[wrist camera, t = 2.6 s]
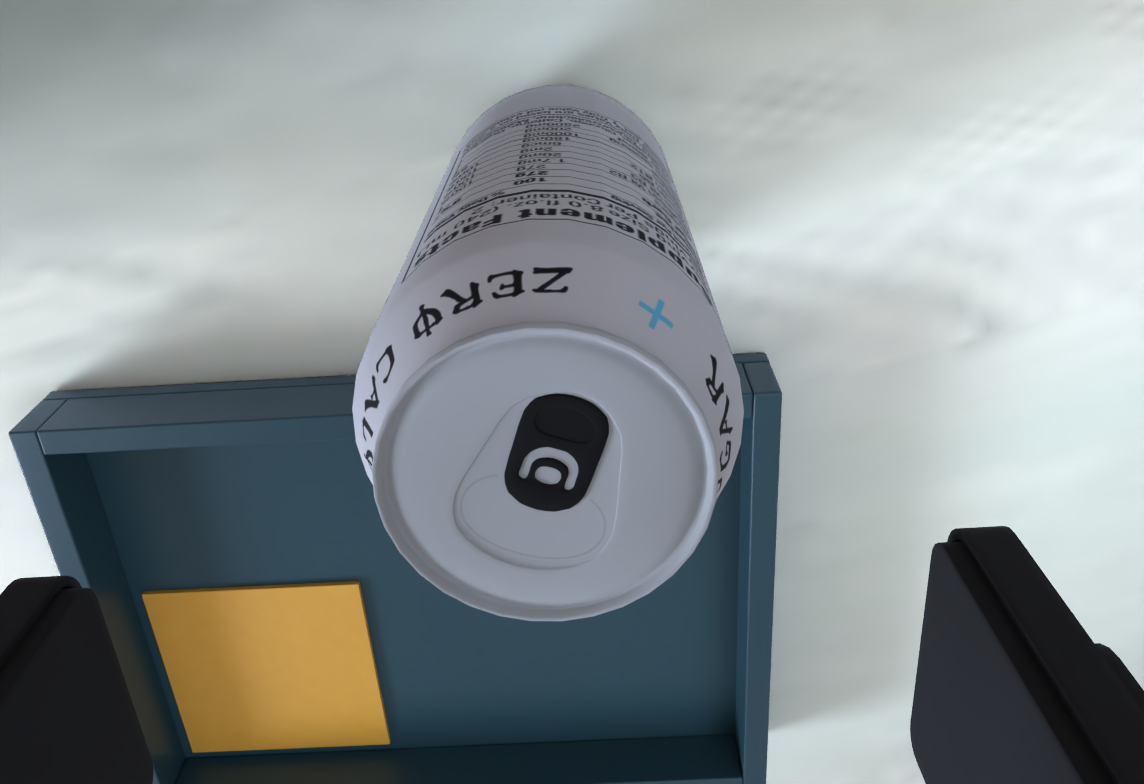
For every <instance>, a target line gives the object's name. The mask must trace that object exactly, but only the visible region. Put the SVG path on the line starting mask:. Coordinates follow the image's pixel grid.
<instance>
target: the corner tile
mask: <svg viewBox="0 0 1144 784" xmlns="http://www.w3.org/2000/svg"><path fill="white" fill-rule="evenodd" d="M142 598H143V601H144V604H145V607H146V610H147V613H148V616H149V619H150V623H151V626H152V629H153V632H154V635H155V638H156V641H157V644H158V647H159V650H160V653H161V656H162V660H163V663H164V666H165V669H166V672H167V675H168V678H169V681H170V684H171V687H172V690H173V693H174V696H175V700H176V703H177V706H178V709H179V712H180V715H181V718H182V721H183V724H184V727H185V730H186V733H187V737H188V740H189V743H190V746H191V749H192V752H193V753H198V752H221V751H245V750H268V749H291V748H314V747H337V746H360V745H384V744H390V742H391V739H390V734H389V729H388V724H387V719H386V713H385V708H384V703H383V698H382V693H381V688H380V683H379V678H378V673H377V668H376V663H375V658H374V653H373V647H372V642H371V637H370V632H369V627H368V622H367V617H366V612H365V607H364V602H363V597H362V592H361V586H360V581H345V582H324V583H303V584H282V585H262V586H241V587H220V588H199V589H178V590H157V591H143V593H142Z"/></svg>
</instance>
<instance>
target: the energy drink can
mask: <svg viewBox="0 0 1144 784" xmlns="http://www.w3.org/2000/svg"><path fill="white" fill-rule="evenodd" d="M352 411H353V420H354V429H355V438H356V444H357V447H358V450H359V453H360V456H361V459H362V461H363V464H364V467H365V470H366V473H367V476H368V477H369V479H370V481H371V483H372V484H373V489H374V498H375V502H376V505H377V508H378V510H379V513H380V516H381V519H382V522H383V525H384V527H385V529H386V531H387V532H388V534H389V536H390V537H391V539H392V541H393V542H394V544H395V546H396V547H397V549H398V551H399V552H400V553H401V554H402V556H403V557H404V558H405V559H406V560H407V561H408V562H409V563H410V564H411V565H412V567H413V568H414V569H415V570H416V571H417V572H418V573H419V574H420V575H421V576H423V577H424V578H425V579H426V580H428V581H429V582H430V583H432V584H433V585H434V586H436V587H437V588H438V589H440V590H441V591H442V592H444V593H446V594H447V595H449V596H451V597H453V598H455V599H457V600H459V601H461V602H463V603H465V604H467V605H469V606H471V607H474V608H477V609H480V610H483V611H486V612H489V613H492V614H495V615H498V616H502V617H508V618H515V619H521V620H527V621H567V620H574V619H580V618H587V617H593V616H596V615H600V614H603V613H606V612H609V611H612V610H615V609H618V608H622V607H624V606H626V605H628V604H630V603H632V602H633V601H635V600H637V599H639V598H641V597H643V596H645V595H647V594H649V593H650V592H652V591H653V590H654V589H656V588H657V587H658V586H660V585H661V584H662V583H664V582H665V581H666V580H667V579H669V578H670V577H671V576H673V575H674V574H675V572H676V571H677V570H678V569H679V568H680V567H681V566H682V565H683V564H684V562H685V561H686V560H687V559H688V558H689V557H690V556H691V555H692V553H693V552H694V550H695V549H696V547H697V545H698V544H699V542H700V540H701V538H702V537H703V535H704V533H705V532H706V530H707V528H708V525H709V522H710V519H711V516H712V513H713V510H714V506H715V503H716V500H717V498H718V496H719V495H720V493H721V491H722V490H723V488H724V486H725V484H726V483H727V481H728V479H729V478H730V476H731V473H732V470H733V467H734V463H735V460H736V457H737V454H738V451H739V448H740V445H741V436H742V426H743V416H744V407H743V399H742V392H741V384H740V377H739V374H738V371H737V368H736V365H735V362H734V359H733V356H732V353H731V350H730V347H729V344H728V341H727V338H726V335H725V332H724V329H723V327H722V324H721V321H720V318H719V315H718V312H717V309H716V306H715V303H714V300H713V297H712V294H711V291H710V288H709V285H708V282H707V279H706V276H705V273H704V271H703V268H702V265H701V262H700V259H699V256H698V253H697V250H696V247H695V244H694V241H693V238H692V235H691V232H690V229H689V226H688V223H687V220H686V218H685V215H684V212H683V209H682V206H681V203H680V200H679V197H678V194H677V191H676V188H675V185H674V182H673V179H672V176H671V173H670V170H669V168H668V165H667V162H666V159H665V157H664V154H663V151H662V149H661V147H660V145H659V144H658V142H657V141H656V139H655V137H654V136H653V134H652V132H651V131H650V129H649V128H648V127H647V126H646V125H645V124H644V123H643V122H642V121H641V120H640V119H639V118H638V117H637V116H636V115H635V113H633V112H632V111H631V110H629V109H628V108H626V107H625V106H623V105H622V104H621V103H619V102H618V101H616V100H615V99H612V98H610V97H608V96H605V95H603V94H601V93H599V92H596V91H594V90H589V89H585V88H580V87H575V86H554V85H547V86H542V87H537V88H532V89H527V90H523V91H521V92H519V93H516V94H514V95H512V96H509V97H507V98H505V99H503V100H501V101H500V102H498V103H497V104H495V105H494V106H493V107H491V108H490V109H488V110H487V111H485V112H484V113H483V114H482V115H481V116H480V117H479V118H478V119H477V120H476V121H475V122H474V124H473V125H472V126H471V127H470V128H469V129H468V130H467V132H466V134H465V135H464V137H463V139H462V140H461V142H460V143H459V145H458V147H457V148H456V151H455V153H454V155H453V157H452V159H451V161H450V164H449V166H448V168H447V170H446V172H445V175H444V177H443V179H442V181H441V183H440V185H439V188H438V190H437V192H436V194H435V196H434V199H433V201H432V203H431V205H430V207H429V210H428V212H427V214H426V216H425V218H424V220H423V223H422V225H421V227H420V229H419V231H418V234H417V236H416V238H415V240H414V242H413V244H412V247H411V249H410V251H409V253H408V255H407V258H406V260H405V262H404V264H403V266H402V268H401V271H400V273H399V275H398V277H397V279H396V282H395V284H394V286H393V288H392V290H391V292H390V295H389V297H388V299H387V301H386V303H385V306H384V308H383V310H382V312H381V314H380V316H379V319H378V321H377V323H376V325H375V327H374V330H373V332H372V334H371V336H370V338H369V341H368V343H367V346H366V349H365V351H364V354H363V357H362V360H361V363H360V365H359V368H358V371H357V374H356V381H355V389H354V398H353V407H352Z"/></svg>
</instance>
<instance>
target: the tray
mask: <svg viewBox="0 0 1144 784" xmlns="http://www.w3.org/2000/svg"><path fill="white" fill-rule="evenodd" d="M732 356H733V359H734V362H735V365H736V368H737V371H738V374H739V377H740V384H741V392H742V399H743V407H744V416H743V426H742V436H741V445H740V448H739V451H738V454H737V457H736V460H735V463H734V467H733V470H732V473H731V476H730V478H729V479H728V481H727V483H726V484H725V486H724V488H723V490H722V491H721V493H720V495H719V496H718V498H717V500H716V503H715V506H714V510H713V513H712V516H711V519H710V522H709V525H708V528H707V530H706V532H705V533H704V535H703V537H702V538H701V540H700V542H699V544H698V545H697V547H696V549H695V550H694V552H693V553H692V555H691V556H690V557H689V558H688V559H687V560H686V561H685V562H684V564H683V565H682V566H681V567H680V568H679V569H678V570H677V571H676V572H675V574H674V575H673V576H671V577H670V578H669V579H667V580H666V581H665V582H664V583H662V584H661V585H660V586H658V587H657V588H656V589H654V590H653V591H652V592H650V593H649V594H647V595H645V596H643V597H641V598H639V599H637V600H635V601H633V602H632V603H630V604H628V605H626V606H624V607H622V608H618V609H615V610H612V611H609V612H606V613H603V614H600V615H596V616H593V617H587V618H580V619H574V620H567V621H527V620H521V619H515V618H508V617H502V616H498V615H495V614H492V613H489V612H486V611H483V610H480V609H477V608H474V607H471V606H469V605H467V604H465V603H463V602H461V601H459V600H457V599H455V598H453V597H451V596H449V595H447V594H446V593H444V592H442V591H441V590H440V589H438V588H437V587H436V586H434V585H433V584H432V583H430V582H429V581H428V580H426V579H425V578H424V577H423V576H421V575H420V574H419V573H418V572H417V571H416V570H415V569H414V568H413V567H412V565H411V564H410V563H409V562H408V561H407V560H406V559H405V558H404V557H403V556H402V554H401V553H400V552H399V551H398V549H397V547H396V546H395V544H394V542H393V541H392V539H391V537H390V536H389V534H388V532H387V531H386V529H385V527H384V525H383V522H382V519H381V516H380V513H379V510H378V508H377V505H376V502H375V498H374V489H373V484H372V483H371V481H370V479H369V477H368V476H367V473H366V470H365V467H364V464H363V461H362V459H361V456H360V453H359V450H358V447H357V444H356V438H355V429H354V420H353V411H352V407H353V398H354V389H355V381H356V375H350V376H332V377H313V378H295V379H276V380H257V381H239V382H220V383H202V384H183V385H165V386H146V387H128V388H109V389H90V390H72V391H53V392H51V393H50V394H49V395H48V396H46V397H45V398H44V399H43V401H41V402H40V403H39V404H38V405H37V406H36V407H35V408H34V409H33V410H32V411H31V412H30V413H29V414H28V415H26V416H25V417H24V418H23V419H22V420H21V421H20V422H19V423H18V424H17V425H16V426H15V427H14V428H13V429H12V430H11V431H10V432H9V437H10V439H11V442H12V445H13V447H14V450H15V453H16V456H17V458H18V461H19V464H20V467H21V469H22V472H23V475H24V477H25V480H26V483H27V486H28V488H29V491H30V494H31V496H32V499H33V502H34V505H35V507H36V510H37V513H38V516H39V518H40V521H41V524H42V526H43V529H44V532H45V535H46V537H47V540H48V543H49V545H50V548H51V551H52V554H53V556H54V559H55V562H56V565H57V567H58V570H59V573H60V575H61V576H71V577H74V578H75V579H76V580H77V581H78V582H79V583H80V585H81V587H82V588H89V589H91V590H92V591H93V592H94V593H95V595H96V597H97V599H98V602H99V605H100V608H101V611H102V614H103V617H104V620H105V623H106V626H107V629H108V631H109V634H110V637H111V640H112V643H113V646H114V649H115V652H116V655H117V658H118V661H119V664H120V667H121V670H122V673H123V676H124V679H125V682H126V685H127V688H128V691H129V694H130V697H131V700H132V702H133V705H134V708H135V711H136V714H137V717H138V720H139V723H140V726H141V729H142V732H143V735H144V738H145V741H146V744H147V747H148V750H149V753H150V756H151V759H152V763H153V784H766V770H767V745H768V721H769V697H770V673H771V648H772V624H773V600H774V576H775V551H776V527H777V503H778V478H779V454H780V430H781V406H782V392H781V390H780V387H779V385H778V382H777V380H776V378H775V375H774V373H773V370H772V368H771V366H770V363H769V360H768V358H767V355H766V354H765V353H758V354H740V355H732ZM345 581H360V586H361V592H362V597H363V602H364V607H365V612H366V617H367V622H368V627H369V632H370V637H371V642H372V647H373V653H374V658H375V663H376V668H377V673H378V678H379V683H380V688H381V693H382V698H383V703H384V708H385V713H386V719H387V724H388V729H389V734H390V739H391V742H390V744H384V745H360V746H337V747H314V748H291V749H268V750H245V751H221V752H198V753H193V752H192V749H191V746H190V743H189V740H188V737H187V733H186V730H185V727H184V724H183V721H182V718H181V715H180V712H179V709H178V706H177V703H176V700H175V696H174V693H173V690H172V687H171V684H170V681H169V678H168V675H167V672H166V669H165V666H164V663H163V660H162V656H161V653H160V650H159V647H158V644H157V641H156V638H155V635H154V632H153V629H152V626H151V623H150V619H149V616H148V613H147V610H146V607H145V604H144V601H143V598H142V593H143V591H157V590H178V589H199V588H220V587H241V586H262V585H282V584H303V583H324V582H345Z"/></svg>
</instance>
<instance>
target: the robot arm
mask: <svg viewBox="0 0 1144 784" xmlns="http://www.w3.org/2000/svg"><path fill="white" fill-rule="evenodd" d="M910 731H911V741H912V747H913V751H914V755H915V758H916V761H917V763H918V766H919V768H920V770H921V773H922V775H923V778H924V780H925V783H926V784H1144V691H1143V689H1142V688H1141V687H1140V685H1139V684H1138V682H1137V681H1136V680H1135V678H1134V677H1133V676H1132V674H1131V673H1130V672H1129V670H1128V669H1127V668H1126V666H1125V665H1124V664H1123V662H1122V661H1121V659H1120V658H1119V657H1118V656H1117V655H1116V654H1115V653H1114V652H1113V651H1112V650H1111V649H1110V648H1109V647H1106V646H1104V645H1102V644H1100V643H1097V644H1094V642H1093V641H1092V640H1091V638H1090V637H1089V636H1088V634H1087V633H1086V631H1085V630H1084V629H1083V627H1082V626H1081V624H1080V623H1079V622H1078V620H1077V619H1076V617H1075V616H1074V615H1073V613H1072V612H1071V611H1070V609H1069V608H1068V606H1067V605H1066V604H1065V602H1064V601H1063V599H1062V598H1061V597H1060V595H1059V594H1058V593H1057V591H1056V590H1055V588H1054V587H1053V586H1052V584H1051V583H1050V581H1049V580H1048V579H1047V577H1046V576H1045V574H1044V573H1043V572H1042V570H1041V569H1040V568H1039V566H1038V565H1037V563H1036V562H1035V561H1034V559H1033V558H1032V556H1031V555H1030V554H1029V552H1028V551H1027V549H1026V548H1025V547H1024V545H1023V544H1022V543H1021V541H1020V540H1019V538H1018V537H1017V536H1016V534H1015V533H1014V532H1013V531H1012V530H1011V529H1010V528H1009V527H1006V526H997V527H978V528H959V529H954V530H952V531H951V533H950V535H949V537H948V541H947V542H945V543H937V544H935V545H934V547H933V550H932V555H931V563H930V571H929V579H928V587H927V595H926V603H925V611H924V619H923V627H922V635H921V643H920V651H919V659H918V667H917V675H916V683H915V691H914V699H913V707H912V715H911V725H910ZM0 784H153V763H152V759H151V756H150V753H149V750H148V747H147V744H146V741H145V738H144V735H143V732H142V729H141V726H140V723H139V720H138V717H137V714H136V711H135V708H134V705H133V702H132V700H131V697H130V694H129V691H128V688H127V685H126V682H125V679H124V676H123V673H122V670H121V667H120V664H119V661H118V658H117V655H116V652H115V649H114V646H113V643H112V640H111V637H110V634H109V631H108V629H107V626H106V623H105V620H104V617H103V614H102V611H101V608H100V605H99V602H98V599H97V597H96V595H95V593H94V592H93V591H92V590H91V589H89V588H82V587H81V585H80V583H79V582H78V581H77V580H76V579H75V578H74V577H71V576H52V577H33V578H20V579H17V580H14V581H13V582H12V583H11V584H9V585H8V586H7V587H6V589H5V590H4V591H3V592H2V594H1V595H0Z"/></svg>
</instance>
